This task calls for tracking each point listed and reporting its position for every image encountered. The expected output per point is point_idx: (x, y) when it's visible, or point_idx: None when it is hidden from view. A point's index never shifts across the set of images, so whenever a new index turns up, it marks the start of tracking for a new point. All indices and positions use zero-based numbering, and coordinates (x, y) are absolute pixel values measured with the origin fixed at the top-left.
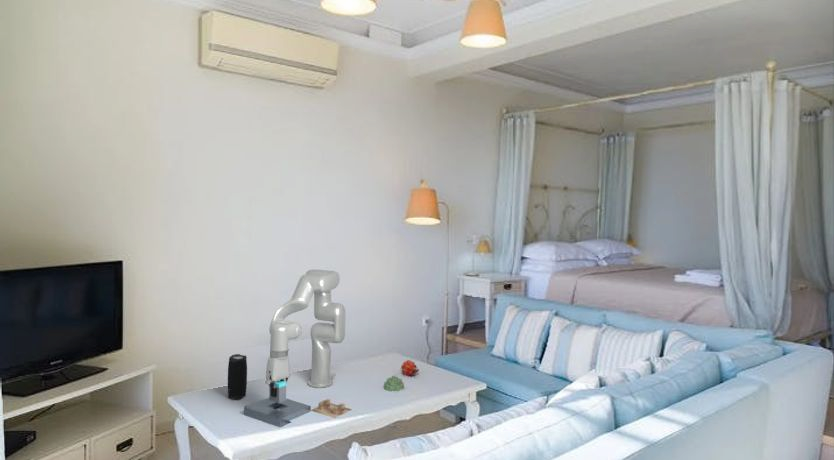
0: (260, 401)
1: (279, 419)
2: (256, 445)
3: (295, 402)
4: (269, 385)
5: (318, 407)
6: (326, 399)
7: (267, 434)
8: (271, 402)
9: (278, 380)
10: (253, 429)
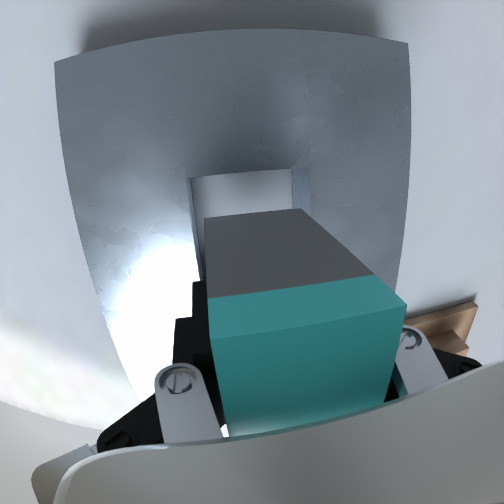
0: (228, 44)
1: (137, 392)
2: (13, 401)
3: (384, 274)
4: (127, 425)
5: (421, 327)
6: (462, 350)
7: (66, 378)
8: (279, 138)
9: (390, 362)
10: (28, 303)
